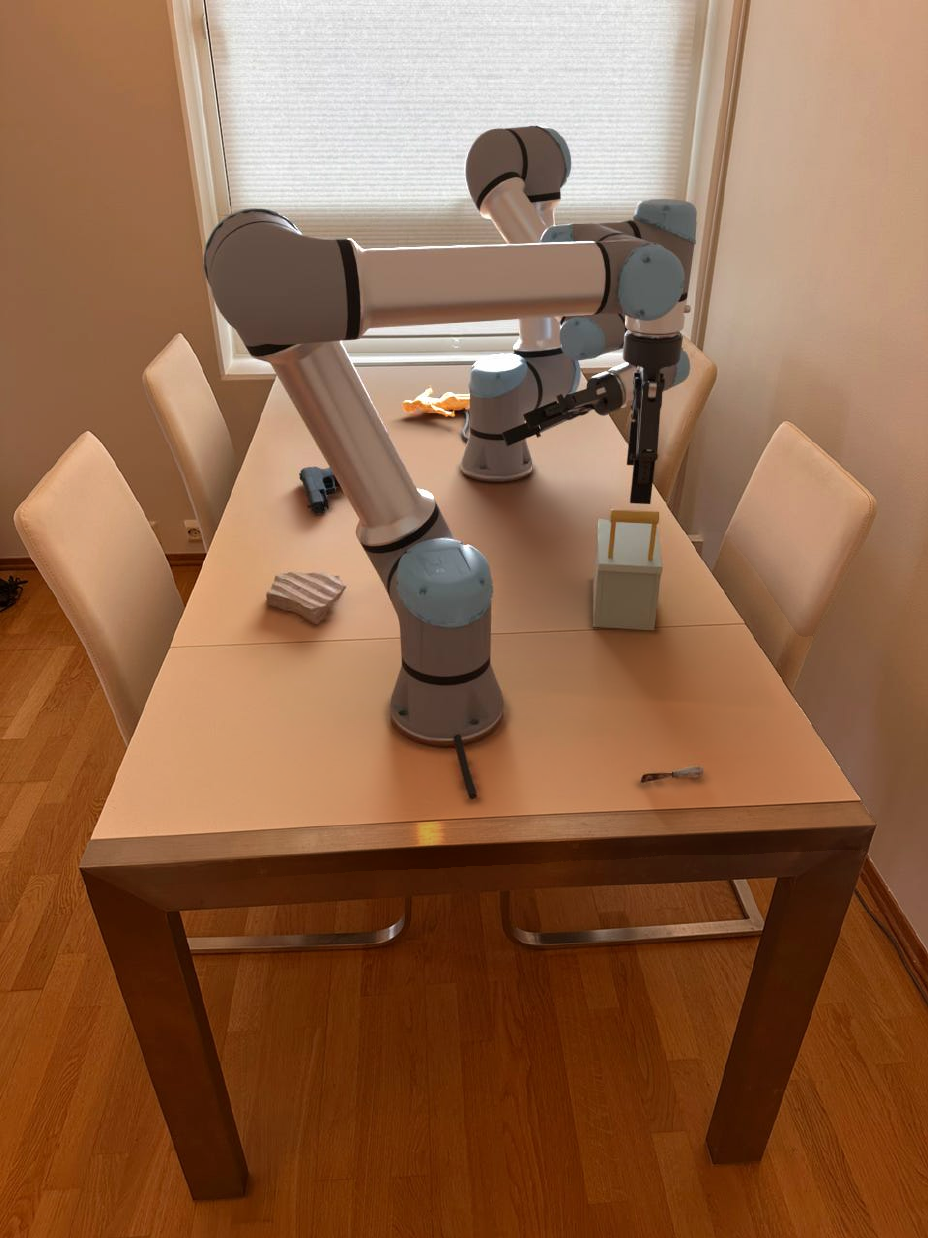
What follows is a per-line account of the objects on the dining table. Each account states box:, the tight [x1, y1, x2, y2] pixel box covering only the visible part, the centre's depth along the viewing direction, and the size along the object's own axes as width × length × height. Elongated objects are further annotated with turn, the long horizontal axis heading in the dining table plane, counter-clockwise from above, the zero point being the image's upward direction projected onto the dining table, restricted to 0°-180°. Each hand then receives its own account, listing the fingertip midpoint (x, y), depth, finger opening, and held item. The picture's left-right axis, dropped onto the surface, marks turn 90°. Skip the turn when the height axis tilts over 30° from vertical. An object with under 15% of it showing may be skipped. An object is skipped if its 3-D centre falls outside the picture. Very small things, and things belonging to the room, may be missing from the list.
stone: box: [265, 571, 347, 625], centre depth 145 cm, size 13×12×2 cm
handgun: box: [298, 466, 341, 515], centre depth 181 cm, size 3×18×12 cm
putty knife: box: [640, 765, 705, 784], centre depth 109 cm, size 1×8×2 cm, turn 103°
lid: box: [597, 508, 664, 575], centre depth 136 cm, size 15×9×9 cm, turn 173°
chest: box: [592, 529, 662, 631], centre depth 142 cm, size 14×9×10 cm, turn 173°
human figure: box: [402, 385, 470, 418], centre depth 225 cm, size 20×20×4 cm
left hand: (637, 482), depth 127 cm, fingers open, 13 cm apart
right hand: (515, 430), depth 163 cm, fingers open, 13 cm apart
